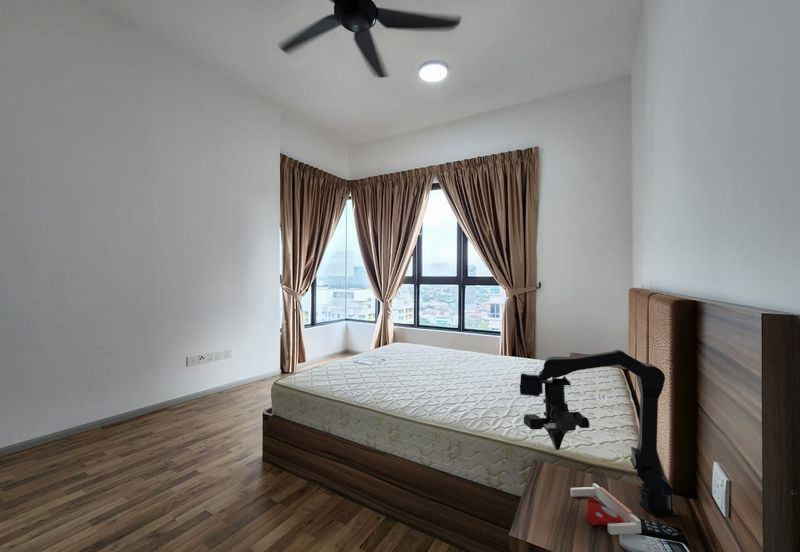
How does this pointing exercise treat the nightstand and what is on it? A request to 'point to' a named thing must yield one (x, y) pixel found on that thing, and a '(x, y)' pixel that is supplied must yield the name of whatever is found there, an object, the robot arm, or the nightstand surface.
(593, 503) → the tracker holder
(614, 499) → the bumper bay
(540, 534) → the nightstand surface
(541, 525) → the nightstand surface
